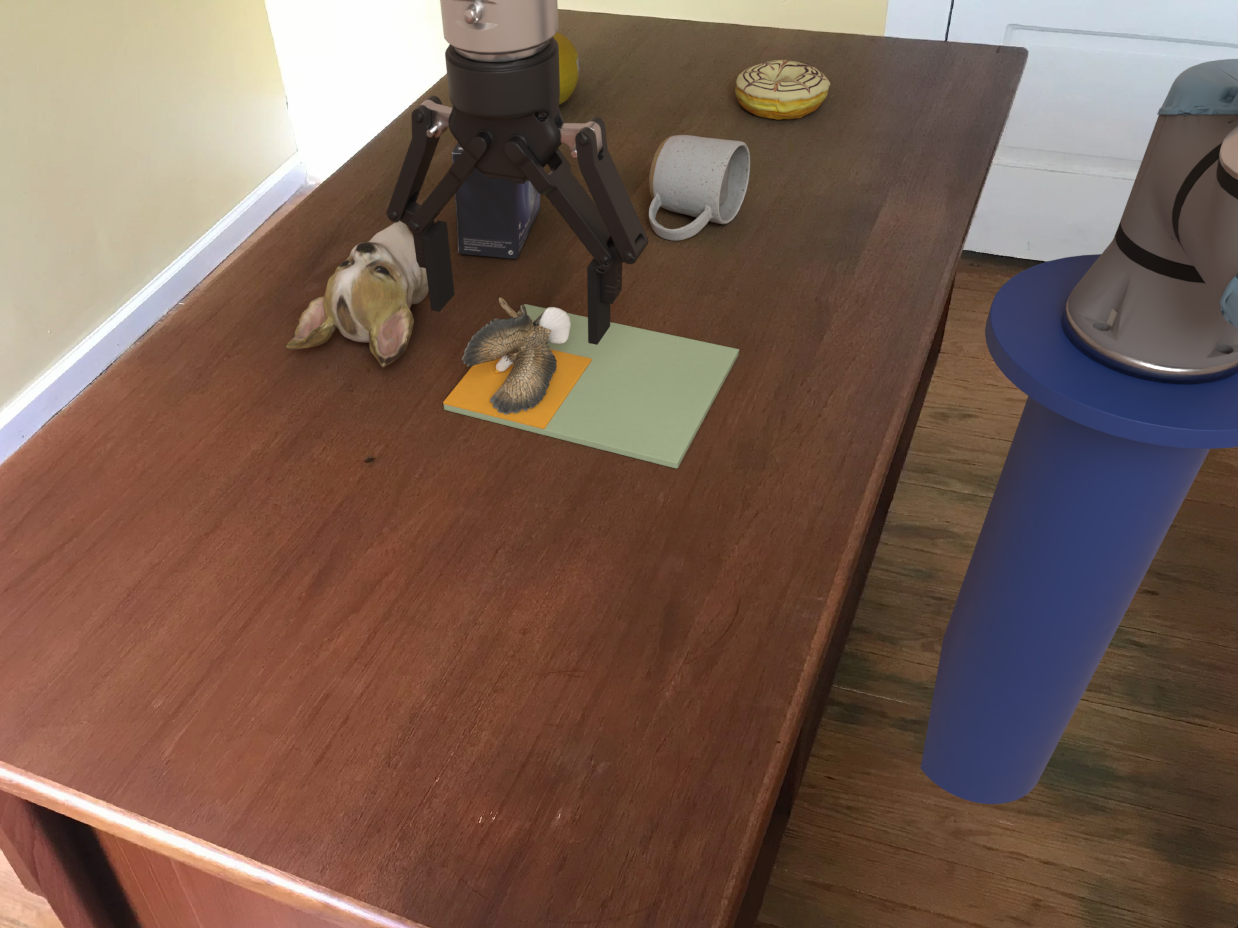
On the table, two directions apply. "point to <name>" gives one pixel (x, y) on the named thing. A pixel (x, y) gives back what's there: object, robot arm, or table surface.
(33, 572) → the table surface
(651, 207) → the ceramic mug
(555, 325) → the eagle figurine
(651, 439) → the corner mat
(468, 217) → the small box
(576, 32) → the table surface
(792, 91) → the decorated donut
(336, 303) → the ceramic sculpture
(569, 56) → the lemon
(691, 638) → the table surface
